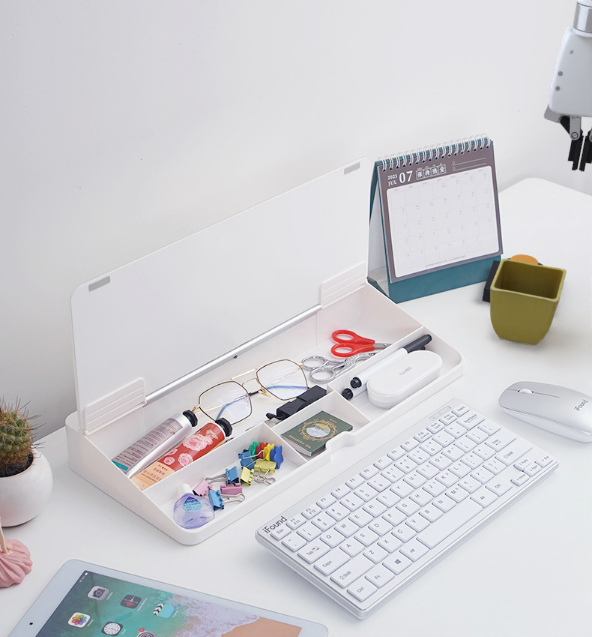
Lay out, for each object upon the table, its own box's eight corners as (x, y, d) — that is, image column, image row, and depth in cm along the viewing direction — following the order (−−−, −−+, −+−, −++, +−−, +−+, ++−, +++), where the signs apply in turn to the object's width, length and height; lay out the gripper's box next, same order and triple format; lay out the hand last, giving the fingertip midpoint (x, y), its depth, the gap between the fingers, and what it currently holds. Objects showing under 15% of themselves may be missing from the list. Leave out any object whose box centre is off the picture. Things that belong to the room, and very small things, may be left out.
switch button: (537, 267, 119) (539, 256, 118) (534, 280, 116) (536, 269, 115) (510, 262, 120) (512, 252, 119) (506, 275, 117) (508, 264, 116)
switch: (554, 283, 122) (558, 260, 120) (547, 313, 115) (552, 289, 113) (491, 271, 125) (495, 249, 123) (481, 300, 118) (485, 277, 116)
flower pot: (480, 343, 109) (489, 287, 104) (493, 310, 116) (502, 256, 111) (546, 358, 106) (558, 301, 101) (555, 323, 113) (567, 269, 108)
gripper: (674, 17, 95) (639, 164, 104) (545, 9, 99) (523, 150, 109) (676, 31, 89) (639, 185, 99) (538, 22, 93) (516, 170, 103)
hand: (578, 167), depth 104 cm, fingers closed
